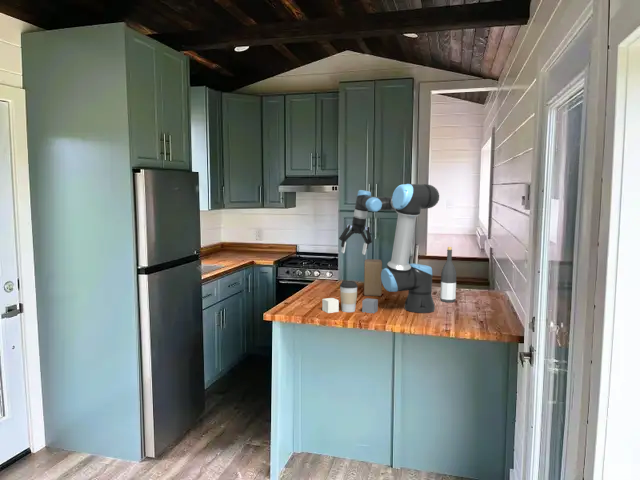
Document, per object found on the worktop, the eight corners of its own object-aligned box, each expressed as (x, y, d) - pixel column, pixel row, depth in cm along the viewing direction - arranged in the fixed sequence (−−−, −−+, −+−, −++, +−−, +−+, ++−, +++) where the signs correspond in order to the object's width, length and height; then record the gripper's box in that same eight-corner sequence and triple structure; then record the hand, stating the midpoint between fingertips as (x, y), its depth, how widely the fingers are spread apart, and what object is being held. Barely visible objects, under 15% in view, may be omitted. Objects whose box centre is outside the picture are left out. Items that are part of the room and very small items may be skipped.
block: (381, 292, 284) (381, 259, 282) (381, 296, 274) (382, 261, 272) (364, 292, 285) (364, 258, 283) (363, 295, 275) (364, 261, 273)
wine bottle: (446, 303, 259) (448, 248, 256) (437, 299, 266) (439, 246, 263) (458, 302, 262) (460, 247, 259) (449, 298, 269) (451, 245, 266)
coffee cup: (358, 309, 245) (359, 280, 244) (355, 313, 237) (355, 283, 235) (341, 307, 248) (342, 279, 246) (337, 312, 239) (338, 282, 237)
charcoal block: (377, 311, 242) (377, 299, 241) (373, 313, 237) (373, 301, 236) (366, 309, 245) (366, 298, 244) (362, 312, 239) (362, 300, 239)
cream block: (338, 311, 240) (338, 300, 239) (328, 313, 237) (328, 301, 236) (332, 309, 245) (332, 297, 244) (322, 310, 242) (322, 298, 241)
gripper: (375, 218, 281) (369, 253, 285) (337, 214, 271) (331, 250, 275) (382, 220, 274) (375, 256, 278) (343, 216, 264) (336, 253, 268)
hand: (353, 253), depth 276 cm, fingers open, 13 cm apart
